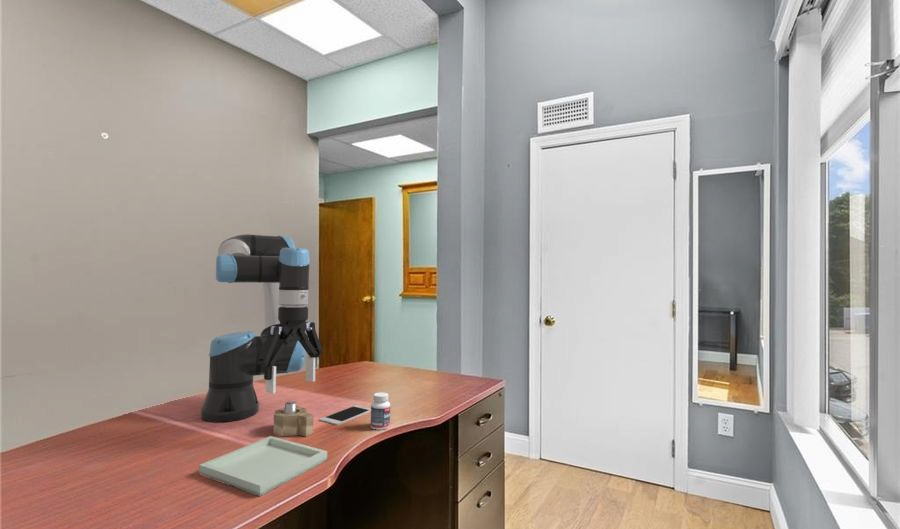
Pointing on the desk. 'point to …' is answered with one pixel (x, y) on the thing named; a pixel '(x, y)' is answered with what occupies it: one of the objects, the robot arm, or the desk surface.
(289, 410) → the grey metal cylinder
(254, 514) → the desk surface
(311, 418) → the tan notched block
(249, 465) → the tray
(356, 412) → the smartphone
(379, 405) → the pill bottle
